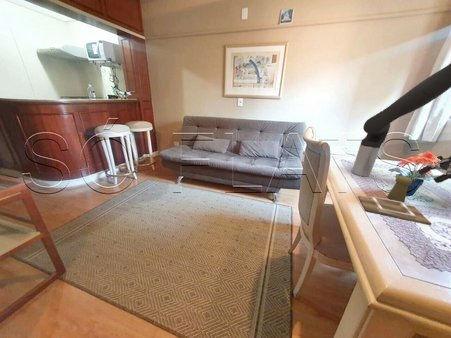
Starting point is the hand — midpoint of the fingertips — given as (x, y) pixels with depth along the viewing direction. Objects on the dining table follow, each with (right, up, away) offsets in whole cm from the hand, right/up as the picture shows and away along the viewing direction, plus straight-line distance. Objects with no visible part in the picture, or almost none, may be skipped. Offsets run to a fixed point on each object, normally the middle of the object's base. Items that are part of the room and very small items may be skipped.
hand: (426, 177), depth 78 cm
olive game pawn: (-8, -11, +6) cm, 14 cm away
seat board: (-18, -13, -3) cm, 23 cm away
